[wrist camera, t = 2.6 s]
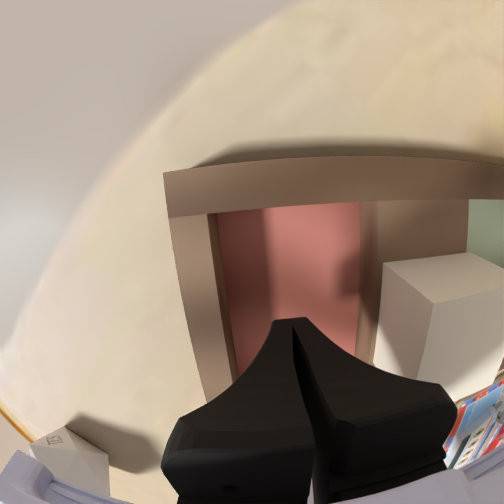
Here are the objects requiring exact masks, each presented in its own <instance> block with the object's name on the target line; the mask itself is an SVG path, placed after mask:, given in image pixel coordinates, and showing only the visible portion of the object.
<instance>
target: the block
mask: <svg viewBox="0 0 504 504" xmlns="http://www.w3.org/2000/svg"><path fill="white" fill-rule="evenodd" d="M503 358H504V269H503V268H501V267H499V266H497V265H495V264H493V263H491V262H489V261H487V260H485V259H483V258H481V257H479V256H477V255H475V254H472V253H470V252H467V253H460V254H452V255H444V256H436V257H428V258H419V259H411V260H402V261H394V262H385V263H383V271H382V288H381V300H380V311H379V321H378V330H377V338H376V345H375V352H374V359H373V363H374V365H375V367H377V368H379V369H381V370H384V371H386V372H389V373H392V374H395V375H399V376H402V377H406V378H409V379H414V380H419V381H425V382H431V383H438V384H440V385H441V386H442V387H443V388H444V390H445V391H446V392H447V393H448V395H449V396H450V398H451V399H452V401H453V402H455V401H457V400H459V399H462V398H464V397H466V396H469V395H471V394H473V393H475V392H478V391H480V390H482V389H484V388H486V387H488V386H490V385H492V384H493V382H494V380H495V377H496V375H497V373H498V370H499V368H500V365H501V363H502V360H503Z"/></svg>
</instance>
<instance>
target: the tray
mask: <svg viewBox="0 0 504 504" xmlns="http://www.w3.org/2000/svg"><path fill="white" fill-rule="evenodd" d="M163 178H164V187H165V195H166V203H167V211H168V218H169V225H170V232H171V238H172V245H173V251H174V257H175V263H176V269H177V274H178V280H179V285H180V290H181V295H182V300H183V305H184V310H185V315H186V320H187V324H188V329H189V333H190V338H191V342H192V346H193V351H194V355H195V359H196V363H197V367H198V371H199V375H200V379H201V383H202V386H203V390H204V394H205V397H206V401H207V403H208V402H210V401H211V400H213V399H214V398H216V397H217V396H218V395H220V394H221V393H222V392H224V391H225V390H226V389H227V388H228V387H230V386H231V385H232V384H233V383H234V382H235V381H236V380H237V379H238V378H239V377H240V376H241V375H242V374H243V372H244V371H245V370H246V369H247V368H248V366H249V365H250V364H251V363H252V361H253V360H254V358H255V357H256V355H257V354H258V352H259V351H260V349H261V347H262V345H263V343H264V341H265V340H266V338H267V335H268V333H269V331H270V328H271V323H272V321H273V320H276V319H287V318H297V317H307V318H308V319H309V320H310V321H311V322H312V323H313V324H314V325H315V326H316V327H317V328H318V329H319V330H320V331H321V332H322V333H323V334H324V335H326V336H327V337H328V338H329V339H330V340H331V341H333V342H334V343H335V344H336V345H338V346H339V347H341V348H342V349H343V350H345V351H346V352H348V353H349V354H351V355H353V356H354V357H356V358H358V359H360V360H362V361H363V362H365V363H368V364H370V365H372V366H374V367H375V365H374V363H373V359H374V352H375V345H376V338H377V330H378V321H379V311H380V300H381V288H382V271H383V263H385V262H394V261H402V260H411V259H419V258H428V257H436V256H444V255H452V254H460V253H467V252H470V253H472V254H475V255H477V256H479V257H481V258H483V259H485V260H487V261H489V262H491V263H493V264H495V265H497V266H499V267H501V268H503V269H504V166H503V165H496V164H489V163H481V162H473V161H463V160H453V159H441V158H426V157H406V156H321V157H299V158H283V159H270V160H258V161H247V162H238V163H229V164H220V165H212V166H204V167H197V168H190V169H183V170H177V171H171V172H165V173H163ZM502 369H504V358H503V360H502V363H501V365H500V368H499V370H498V371H500V370H502Z"/></svg>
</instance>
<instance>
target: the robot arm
mask: <svg viewBox="0 0 504 504" xmlns="http://www.w3.org/2000/svg"><path fill="white" fill-rule="evenodd" d="M457 416H458V409H457V407H456V405H455V404H454V402H453V401H452V399H451V398H450V396H449V395H448V393H447V392H446V391H445V390H444V388H443V387H442V386H441V385H440V384H438V383H431V382H425V381H419V380H414V379H409V378H406V377H402V376H399V375H395V374H392V373H389V372H386V371H384V370H381V369H379V368H377V367H374V366H372V365H370V364H368V363H365V362H363V361H362V360H360V359H358V358H356V357H354V356H353V355H351V354H349V353H348V352H346V351H345V350H343V349H342V348H341V347H339V346H338V345H336V344H335V343H334V342H333V341H331V340H330V339H329V338H328V337H327V336H326V335H324V334H323V333H322V332H321V331H320V330H319V329H318V328H317V327H316V326H315V325H314V324H313V323H312V322H311V321H310V320H309V319H308V318H307V317H297V318H287V319H276V320H273V321H272V323H271V328H270V331H269V333H268V335H267V338H266V340H265V341H264V343H263V345H262V347H261V349H260V351H259V352H258V354H257V355H256V357H255V358H254V360H253V361H252V363H251V364H250V365H249V366H248V368H247V369H246V370H245V371H244V372H243V374H242V375H241V376H240V377H239V378H238V379H237V380H236V381H235V382H234V383H233V384H232V385H231V386H230V387H228V388H227V389H226V390H225V391H224V392H222V393H221V394H220V395H218V396H217V397H216V398H214V399H213V400H211V401H210V402H208V403H207V404H205V405H204V406H202V407H200V408H198V409H196V410H194V411H192V412H191V413H189V414H187V415H185V416H183V417H180V418H179V419H178V421H177V423H176V425H175V427H174V429H173V431H172V433H171V435H170V437H169V439H168V442H167V445H166V448H165V451H164V455H163V458H162V462H161V469H162V471H163V474H164V475H165V477H166V478H167V480H168V481H169V482H170V484H171V485H172V487H173V488H174V489H175V491H176V492H177V493H178V495H179V497H178V501H177V504H504V443H503V444H501V445H500V446H498V447H496V448H495V449H493V450H492V451H490V452H488V453H487V454H485V455H483V456H482V457H480V458H478V459H476V460H475V461H473V462H471V463H469V464H467V465H465V466H463V467H461V468H459V469H448V468H447V466H446V464H445V462H444V459H445V458H446V452H445V450H444V448H443V444H444V443H445V441H446V439H447V437H448V436H449V434H450V432H451V430H452V428H453V427H454V424H455V422H456V419H457ZM0 503H1V504H133V503H129V502H126V501H122V500H118V499H115V498H112V497H108V496H105V495H102V494H99V493H96V492H93V491H90V490H88V489H85V488H82V487H80V486H77V485H75V484H72V483H70V482H67V481H65V480H63V479H60V478H58V477H56V476H54V475H53V473H52V472H51V471H50V470H49V469H48V468H47V467H46V466H45V465H44V464H43V463H42V462H40V461H39V460H37V459H36V458H34V457H32V456H30V455H28V454H26V453H24V452H22V451H20V450H17V451H16V452H15V453H14V455H13V456H12V458H11V459H10V461H9V462H8V464H7V465H6V467H5V468H4V470H3V471H2V473H1V474H0Z"/></svg>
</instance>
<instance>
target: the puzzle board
mask: <svg viewBox="0 0 504 504" xmlns="http://www.w3.org/2000/svg"><path fill="white" fill-rule="evenodd" d="M456 407H457V409H458V416H457V419H456V422H455V424H454V427H453V428H452V430H451V432H450V434H449V436H448V437H447V439H446V441H445V443H444V444H443V448H444V450H445V452H446V458H445V459H444V462H445V464H446V466H447V468H448V469H459V468H461V467H463V466H465V465H467V464H469V463H471V462H473V461H475V460H476V459H478V458H480V457H482V456H483V455H485V454H487V453H488V452H490V451H492V450H493V449H495V448H496V447H498V446H500V445H501V444H503V443H504V372H503V373H501V374H500V375H498V376H497V377H495V380H494V382H493V384H492V385H490V386H488V387H486V388H484V389H482V390H480V391H478V392H475V393H473V394H471V395H469V396H466V397H464V398H462V399H459V400H458V401H457V402H456Z"/></svg>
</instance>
